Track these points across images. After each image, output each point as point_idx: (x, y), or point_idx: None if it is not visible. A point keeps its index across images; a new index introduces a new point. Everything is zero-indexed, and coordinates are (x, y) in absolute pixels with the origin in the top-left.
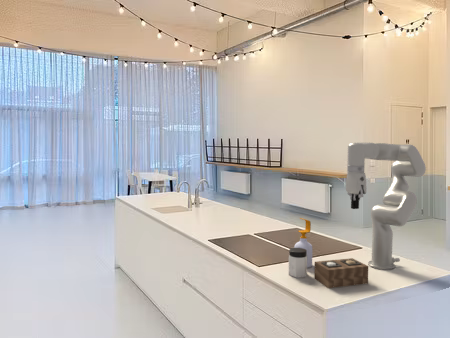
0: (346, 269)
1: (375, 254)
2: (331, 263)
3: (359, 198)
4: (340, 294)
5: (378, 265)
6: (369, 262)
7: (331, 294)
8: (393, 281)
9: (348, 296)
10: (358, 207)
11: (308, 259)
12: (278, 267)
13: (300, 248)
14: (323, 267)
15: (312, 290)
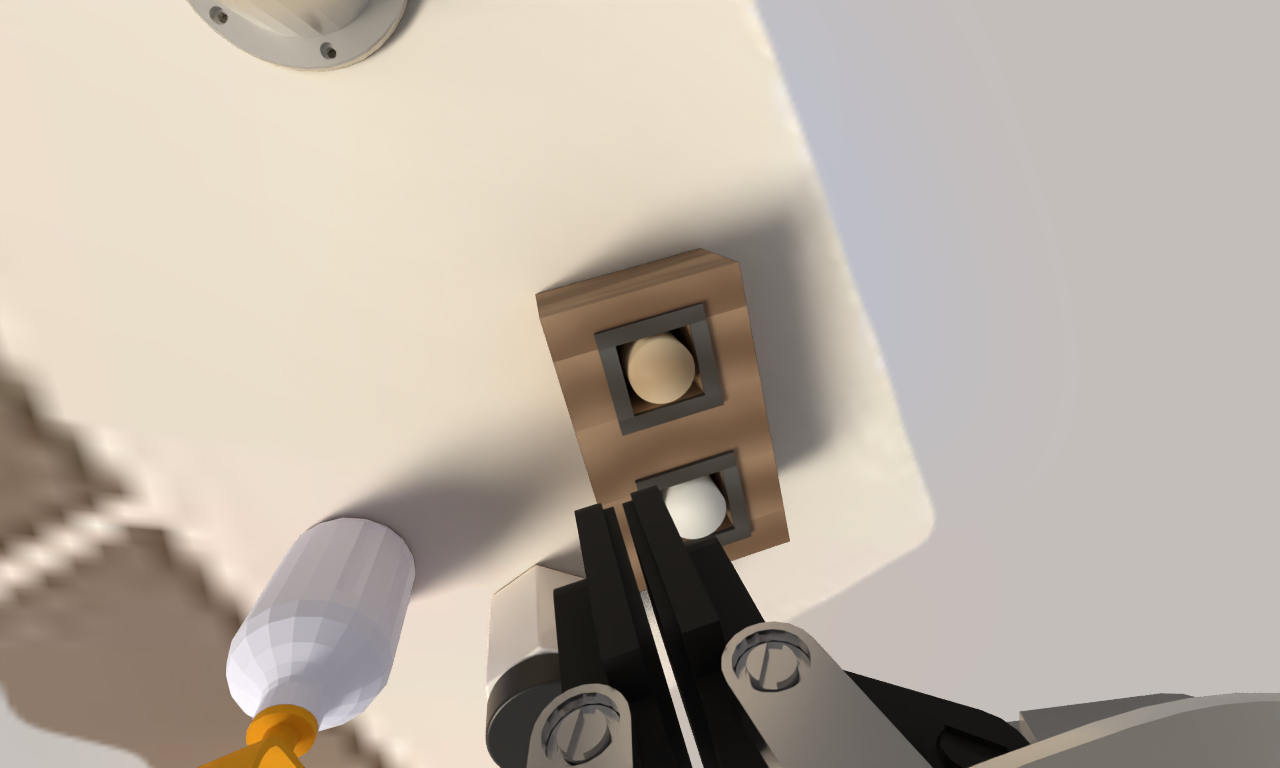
0: (765, 426)
1: (311, 1)
2: (695, 510)
3: (904, 702)
4: (828, 446)
5: (362, 6)
6: (260, 48)
7: (823, 486)
8: (669, 44)
9: (855, 415)
10: (662, 502)
11: (394, 576)
12: (417, 700)
13: (509, 718)
14: (734, 558)
15: (768, 561)
